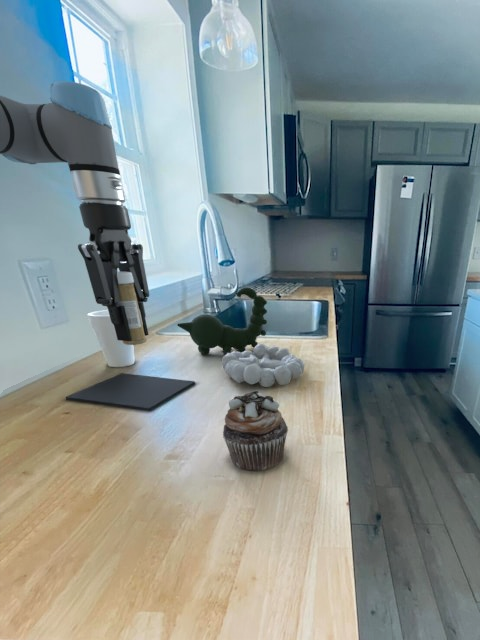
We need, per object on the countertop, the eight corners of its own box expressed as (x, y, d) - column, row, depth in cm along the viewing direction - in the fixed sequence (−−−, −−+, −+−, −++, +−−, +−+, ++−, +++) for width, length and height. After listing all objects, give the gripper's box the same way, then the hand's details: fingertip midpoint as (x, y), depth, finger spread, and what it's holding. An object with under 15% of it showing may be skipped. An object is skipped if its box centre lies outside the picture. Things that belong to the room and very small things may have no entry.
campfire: (324, 373, 93) (324, 350, 90) (269, 398, 77) (268, 372, 75) (260, 358, 104) (258, 337, 101) (200, 378, 88) (197, 354, 85)
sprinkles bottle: (148, 339, 78) (133, 271, 72) (144, 345, 74) (129, 272, 68) (125, 340, 77) (108, 271, 71) (120, 346, 73) (101, 273, 67)
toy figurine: (259, 349, 118) (177, 350, 107) (260, 287, 110) (172, 281, 99) (269, 357, 111) (181, 359, 100) (271, 290, 103) (176, 284, 92)
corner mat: (66, 399, 75) (65, 396, 75) (122, 375, 89) (121, 373, 89) (149, 411, 71) (149, 408, 71) (195, 383, 85) (195, 381, 84)
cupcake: (212, 461, 55) (203, 400, 51) (256, 436, 63) (252, 381, 58) (259, 482, 51) (253, 417, 46) (301, 453, 58) (300, 394, 53)
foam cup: (93, 366, 95) (78, 314, 89) (121, 357, 102) (109, 308, 96) (122, 370, 92) (108, 317, 86) (148, 360, 100) (138, 311, 94)
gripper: (79, 198, 56) (117, 349, 67) (153, 207, 71) (175, 330, 82) (40, 198, 57) (84, 346, 68) (120, 207, 72) (146, 327, 83)
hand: (133, 337), depth 75 cm, fingers closed on sprinkles bottle, 4 cm apart
